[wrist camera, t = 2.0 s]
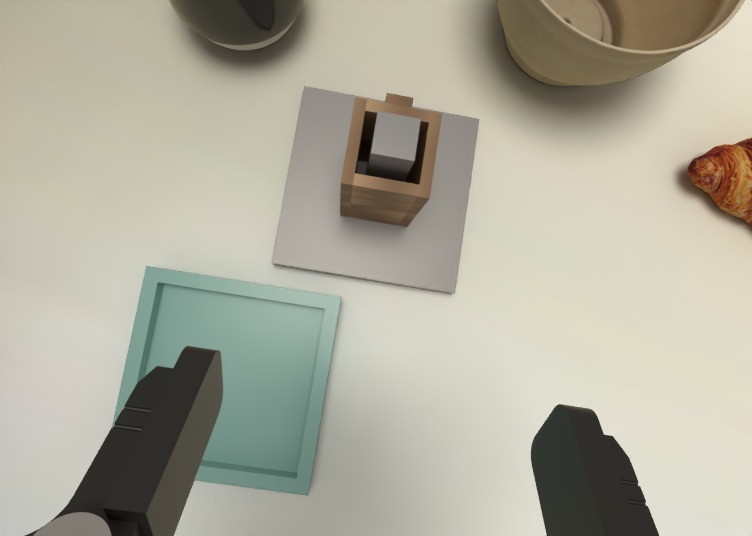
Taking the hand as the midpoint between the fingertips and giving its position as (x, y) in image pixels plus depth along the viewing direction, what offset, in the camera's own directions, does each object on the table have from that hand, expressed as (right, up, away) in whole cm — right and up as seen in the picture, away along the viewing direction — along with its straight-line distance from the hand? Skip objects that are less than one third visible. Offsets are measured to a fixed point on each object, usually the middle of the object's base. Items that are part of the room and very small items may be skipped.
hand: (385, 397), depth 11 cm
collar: (0, +9, +25) cm, 27 cm away
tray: (-11, -5, +24) cm, 27 cm away
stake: (0, +9, +26) cm, 28 cm away
